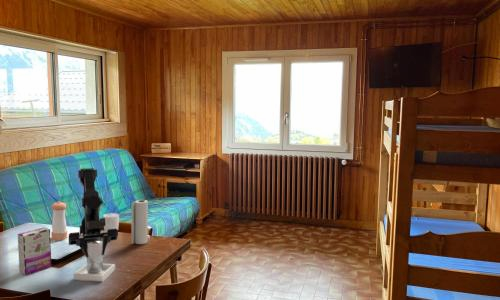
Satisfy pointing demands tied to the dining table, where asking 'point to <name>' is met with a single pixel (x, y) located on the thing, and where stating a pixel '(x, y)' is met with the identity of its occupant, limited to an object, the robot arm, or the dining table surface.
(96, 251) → the gravel can
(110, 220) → the white cup
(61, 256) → the dining table surface
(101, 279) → the bin
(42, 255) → the candy bar box
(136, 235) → the paper towel roll
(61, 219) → the pepper shaker
